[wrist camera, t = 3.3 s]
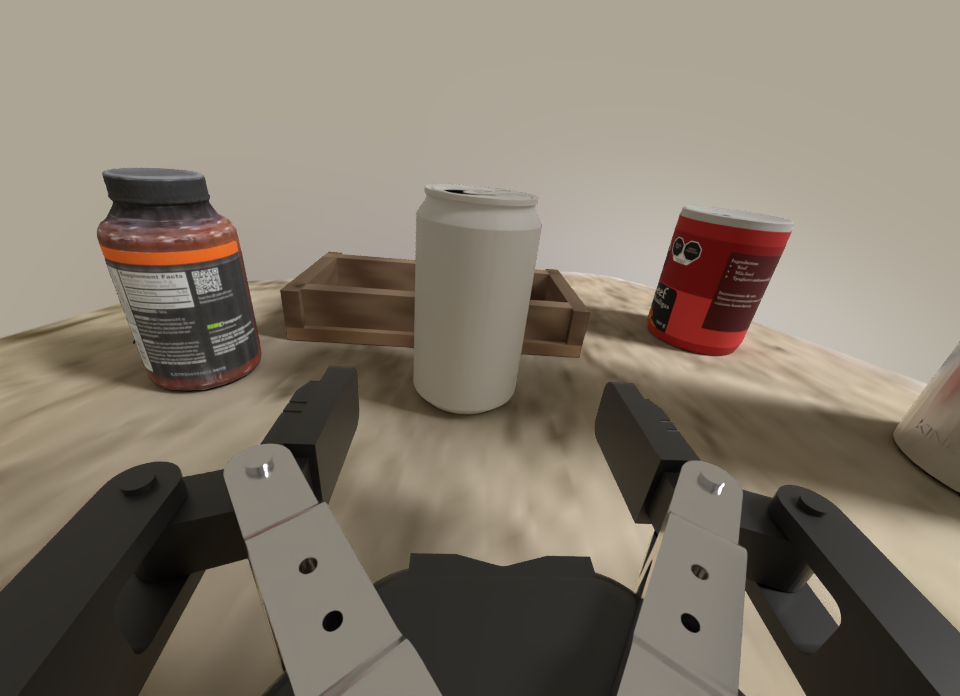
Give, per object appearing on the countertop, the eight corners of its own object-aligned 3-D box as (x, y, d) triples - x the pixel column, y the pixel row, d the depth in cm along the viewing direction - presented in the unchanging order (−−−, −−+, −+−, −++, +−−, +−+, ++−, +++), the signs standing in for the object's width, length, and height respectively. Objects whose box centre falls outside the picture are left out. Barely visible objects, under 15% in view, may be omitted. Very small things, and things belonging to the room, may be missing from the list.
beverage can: (407, 368, 26) (408, 177, 21) (496, 363, 28) (519, 186, 23) (420, 428, 21) (426, 192, 16) (529, 416, 23) (569, 201, 17)
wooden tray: (550, 305, 40) (557, 269, 38) (579, 357, 30) (590, 312, 28) (332, 290, 38) (328, 251, 37) (287, 339, 29) (280, 290, 27)
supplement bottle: (198, 342, 27) (149, 163, 22) (281, 352, 27) (252, 174, 22) (120, 388, 22) (32, 167, 17) (223, 401, 22) (166, 181, 16)
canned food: (654, 313, 41) (690, 203, 36) (741, 337, 37) (794, 218, 32) (634, 335, 35) (673, 208, 30) (734, 367, 31) (798, 226, 26)
